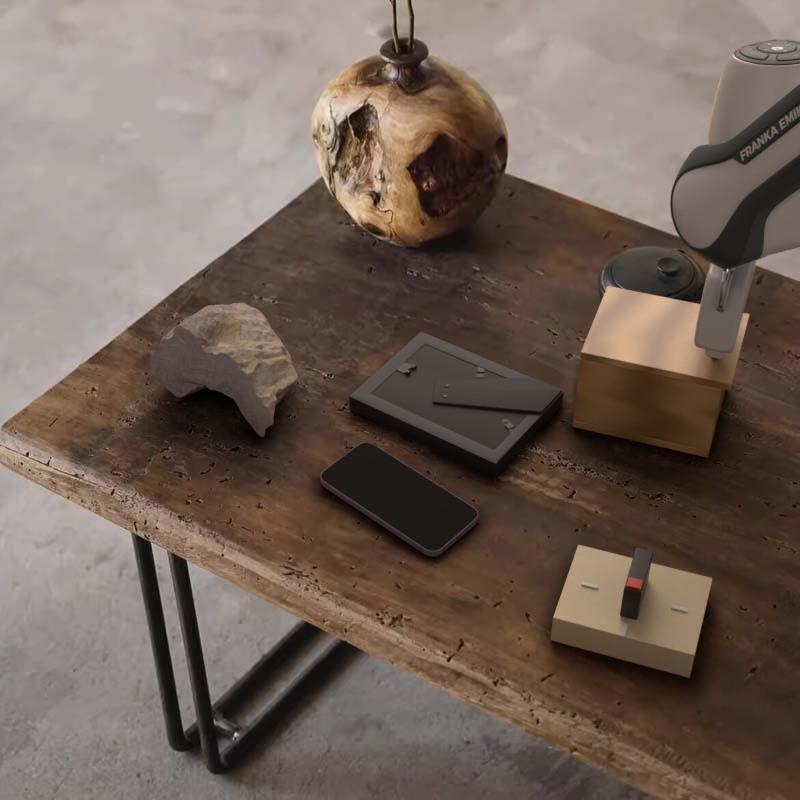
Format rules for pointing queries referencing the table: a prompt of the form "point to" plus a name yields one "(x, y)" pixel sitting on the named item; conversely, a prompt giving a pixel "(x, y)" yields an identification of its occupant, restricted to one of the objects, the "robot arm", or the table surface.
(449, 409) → the picture frame
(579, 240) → the table surface
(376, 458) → the smartphone
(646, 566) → the black red-tipped block
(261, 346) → the rock
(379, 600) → the table surface
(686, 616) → the plate
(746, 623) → the table surface
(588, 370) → the chest
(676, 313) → the chest lid
